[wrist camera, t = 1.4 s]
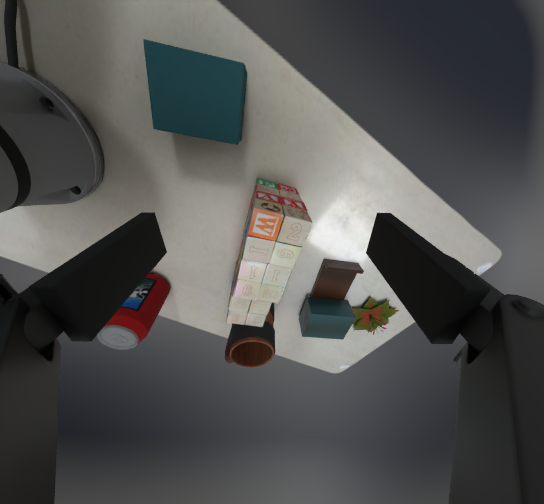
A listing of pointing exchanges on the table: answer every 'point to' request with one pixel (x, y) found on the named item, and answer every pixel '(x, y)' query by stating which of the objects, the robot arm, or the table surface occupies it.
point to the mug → (252, 343)
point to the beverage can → (135, 314)
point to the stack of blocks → (267, 251)
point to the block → (195, 93)
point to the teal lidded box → (330, 301)
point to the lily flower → (372, 315)
